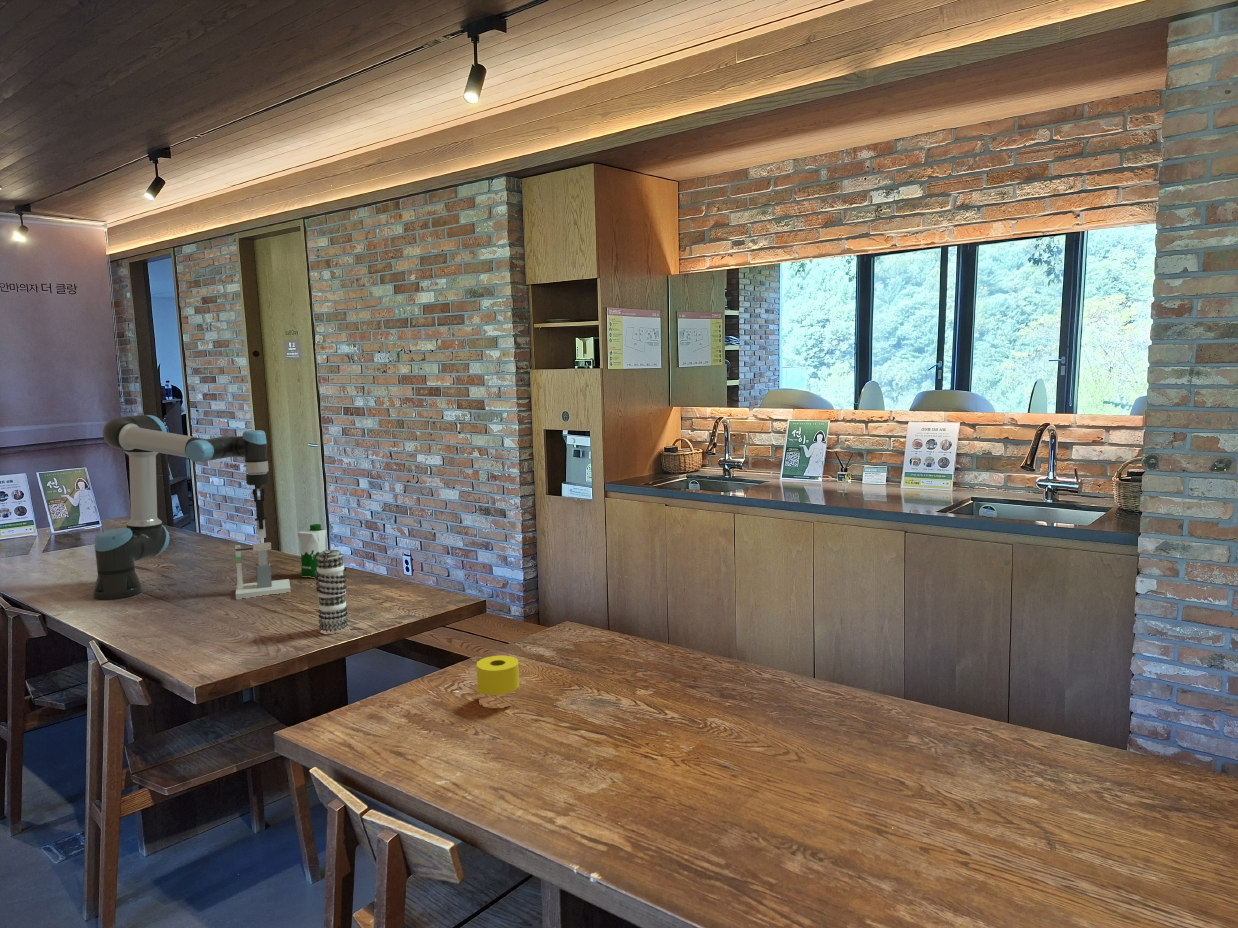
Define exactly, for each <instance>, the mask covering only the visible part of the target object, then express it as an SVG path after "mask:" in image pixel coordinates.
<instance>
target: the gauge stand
mask: <svg viewBox="0 0 1238 928" xmlns="http://www.w3.org/2000/svg"><path fill="white" fill-rule="evenodd" d="M234 547H235V548H234V552H235V558H234V559H235V565H236V575H237V577H236V579H237V584H236V587H235V599H236V600H243V599H242V598H246V599H251V598H250V597H254V598H257V597H256V596H262V595H269V594H279V593H286V592H291V584H290V579H289V578H287V579H278V580H275V579H274V580H273V579H272V567H271V563H270V562H268V565H267V566H259V563H257V564H255V570H256V582H250V583H244V582H243V580H244V579H243V569H242V567H243V566H242V562H243V561H242V552H241V551H236V549H241V545H240V544H238V545H237V544H236V545H234ZM291 593H292V592H291Z"/></svg>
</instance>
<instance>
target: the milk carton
mask: <svg viewBox="0 0 1238 928" xmlns="http://www.w3.org/2000/svg"><path fill="white" fill-rule="evenodd" d="M326 536H327V529H325V528H324V529H322V525H321V524H320V523H314V524H309V529H305V530H301V531H297V537H298V539H299V544H300V545H299V546H300V559H301V566H300V568H301V570H300V571H301V574H300V577H301V576H311V577H315V576H316V575H315V571H316V570H317V558H316V557H317V556H318V555H319V554H320V552H322V551H325V550H327V548H326Z"/></svg>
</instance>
